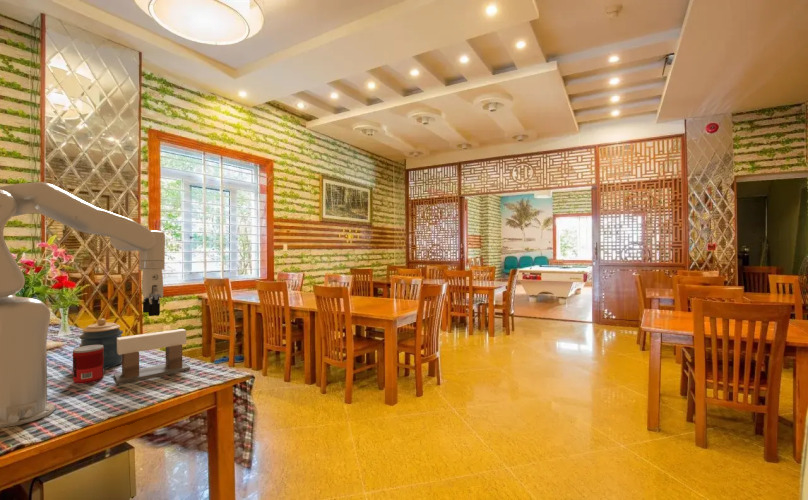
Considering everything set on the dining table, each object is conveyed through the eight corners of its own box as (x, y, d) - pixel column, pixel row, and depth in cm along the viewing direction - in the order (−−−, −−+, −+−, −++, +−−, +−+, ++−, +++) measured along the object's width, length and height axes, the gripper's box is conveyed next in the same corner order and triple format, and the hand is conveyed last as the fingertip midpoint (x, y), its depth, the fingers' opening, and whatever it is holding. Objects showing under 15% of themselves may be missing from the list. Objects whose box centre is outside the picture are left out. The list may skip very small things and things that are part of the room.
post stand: (190, 369, 136) (189, 345, 136) (118, 384, 122) (117, 357, 121) (182, 363, 143) (182, 340, 143) (113, 376, 129) (113, 350, 129)
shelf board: (186, 343, 138) (186, 330, 138) (118, 354, 124) (118, 339, 124) (183, 341, 141) (183, 328, 141) (116, 352, 127) (116, 337, 127)
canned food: (109, 377, 128) (109, 345, 128) (84, 385, 121) (83, 351, 121) (93, 375, 130) (92, 343, 130) (67, 383, 123) (66, 349, 123)
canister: (120, 357, 150) (120, 314, 150) (126, 365, 141) (125, 318, 141) (77, 365, 141) (77, 318, 141) (81, 373, 132) (80, 323, 132)
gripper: (170, 266, 128) (169, 315, 128) (158, 264, 141) (158, 310, 140) (143, 266, 123) (143, 318, 123) (134, 264, 135) (133, 312, 135)
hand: (151, 313), depth 132 cm, fingers open, 9 cm apart
